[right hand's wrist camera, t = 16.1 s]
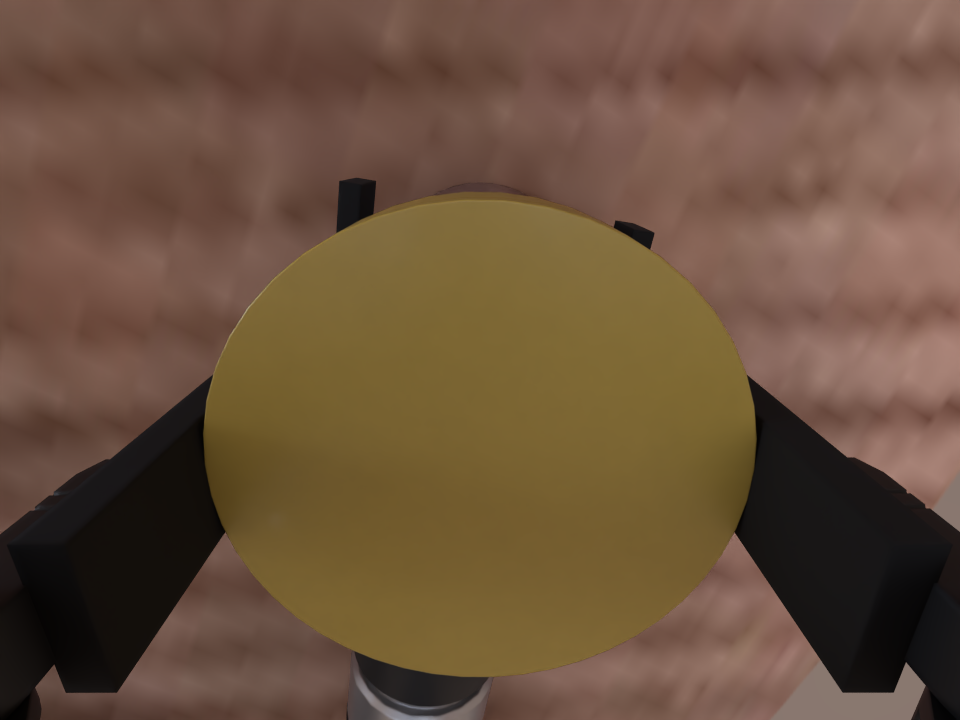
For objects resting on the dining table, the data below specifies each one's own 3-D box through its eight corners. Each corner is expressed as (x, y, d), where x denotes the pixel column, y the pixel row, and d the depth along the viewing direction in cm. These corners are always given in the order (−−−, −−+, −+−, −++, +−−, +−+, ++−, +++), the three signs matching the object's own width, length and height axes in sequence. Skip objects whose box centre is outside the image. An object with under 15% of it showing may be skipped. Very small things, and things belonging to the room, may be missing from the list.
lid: (631, 639, 14) (652, 707, 13) (234, 576, 14) (197, 639, 12) (794, 254, 11) (857, 274, 9) (257, 135, 10) (208, 131, 8)
